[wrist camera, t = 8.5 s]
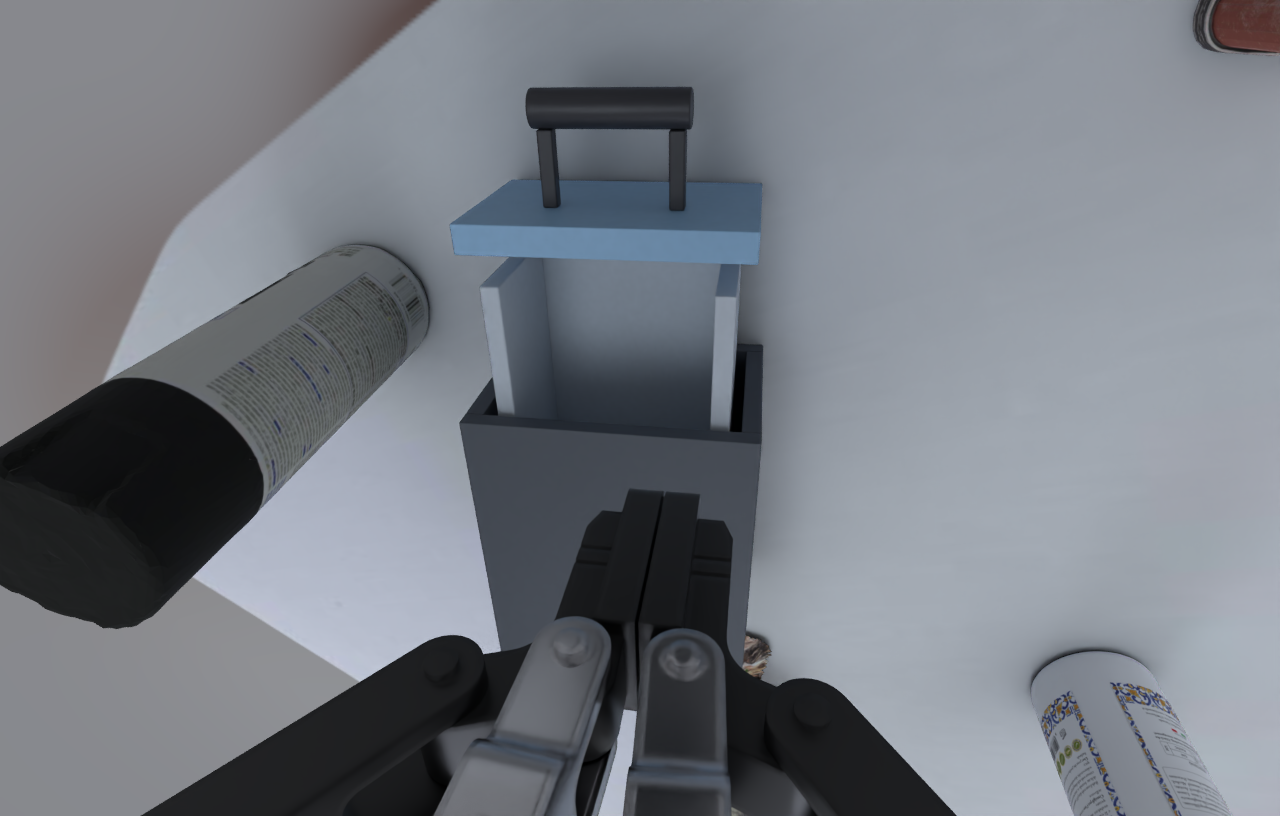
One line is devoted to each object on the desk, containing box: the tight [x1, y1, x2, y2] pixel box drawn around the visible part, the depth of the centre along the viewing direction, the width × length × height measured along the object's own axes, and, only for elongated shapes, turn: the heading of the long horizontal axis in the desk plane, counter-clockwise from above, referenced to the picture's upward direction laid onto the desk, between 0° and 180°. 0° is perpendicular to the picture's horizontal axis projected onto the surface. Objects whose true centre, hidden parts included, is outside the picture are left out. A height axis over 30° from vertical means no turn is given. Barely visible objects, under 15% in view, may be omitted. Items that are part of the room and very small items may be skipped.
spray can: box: [0, 245, 429, 629], centre depth 29 cm, size 7×7×20 cm
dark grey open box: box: [459, 344, 763, 669], centre depth 36 cm, size 15×13×9 cm
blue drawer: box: [450, 87, 762, 432], centre depth 30 cm, size 18×11×7 cm, turn 1°
